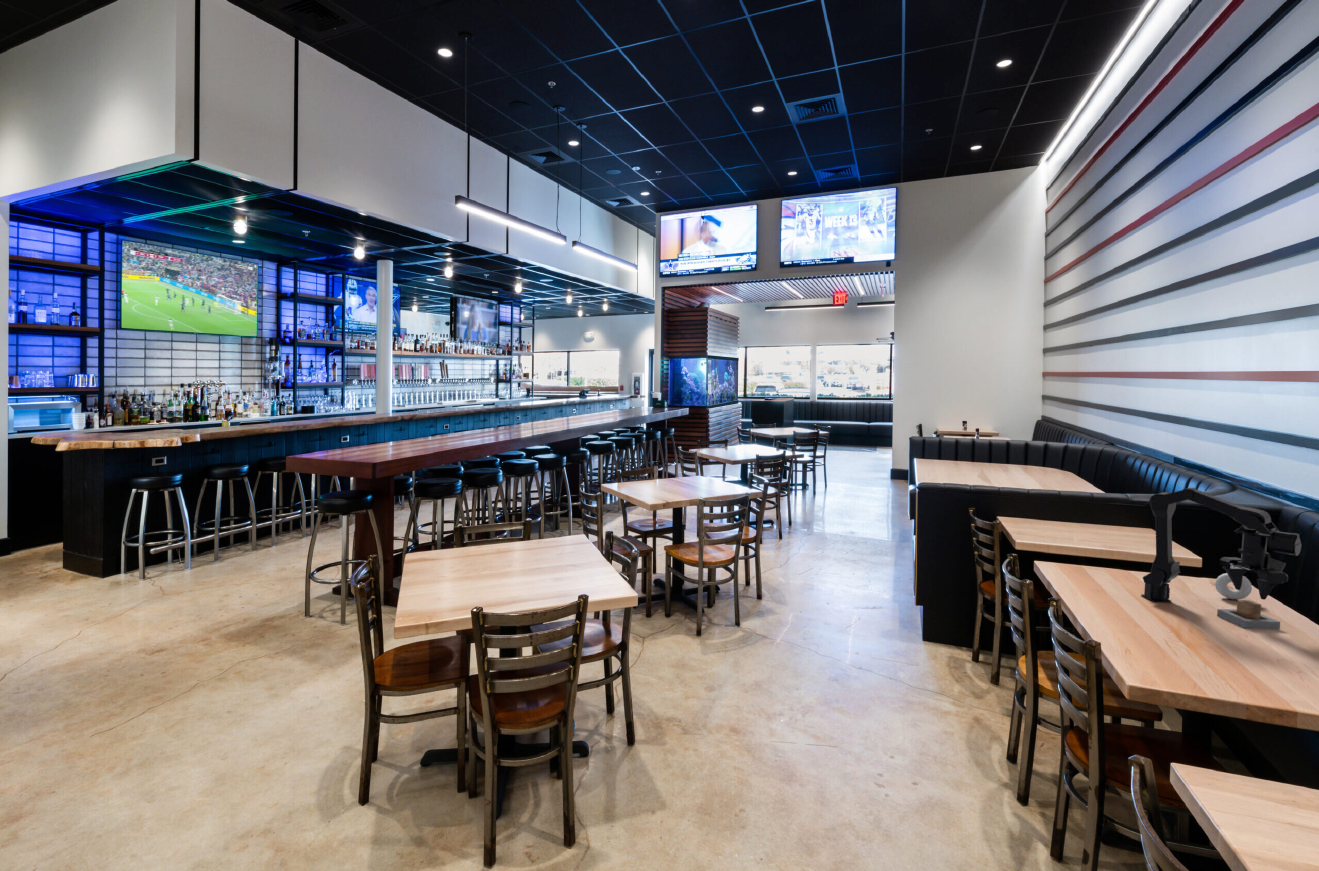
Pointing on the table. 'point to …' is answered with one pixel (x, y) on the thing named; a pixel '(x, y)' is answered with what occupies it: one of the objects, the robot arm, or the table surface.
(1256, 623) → the square well
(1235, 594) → the donut
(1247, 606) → the walnut post
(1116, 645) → the table surface
